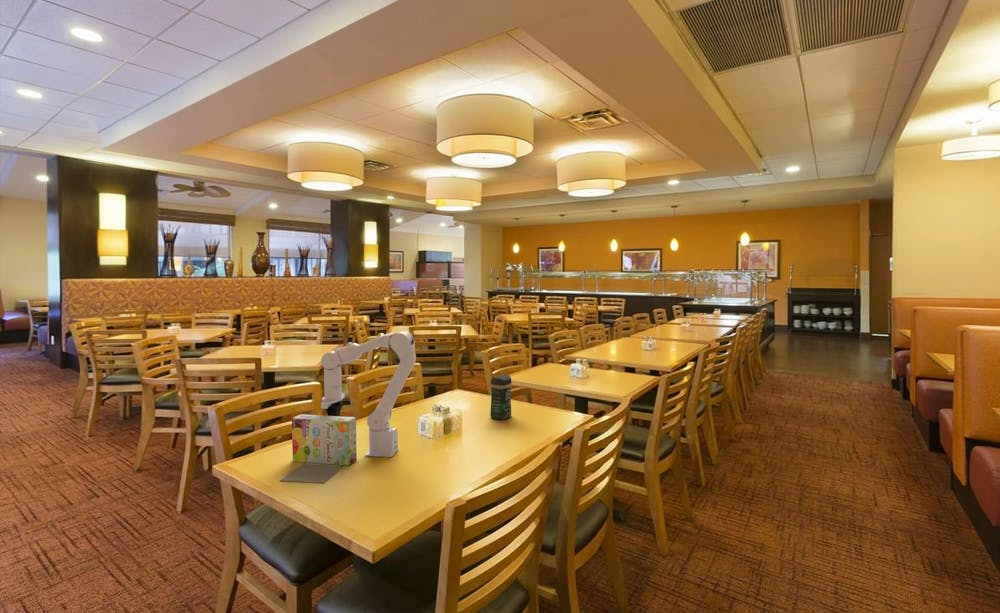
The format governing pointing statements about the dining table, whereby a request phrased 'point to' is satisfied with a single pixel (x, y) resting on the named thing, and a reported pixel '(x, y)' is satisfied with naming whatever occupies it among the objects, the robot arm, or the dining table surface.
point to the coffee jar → (501, 397)
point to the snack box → (324, 439)
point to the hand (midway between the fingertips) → (333, 423)
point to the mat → (311, 473)
